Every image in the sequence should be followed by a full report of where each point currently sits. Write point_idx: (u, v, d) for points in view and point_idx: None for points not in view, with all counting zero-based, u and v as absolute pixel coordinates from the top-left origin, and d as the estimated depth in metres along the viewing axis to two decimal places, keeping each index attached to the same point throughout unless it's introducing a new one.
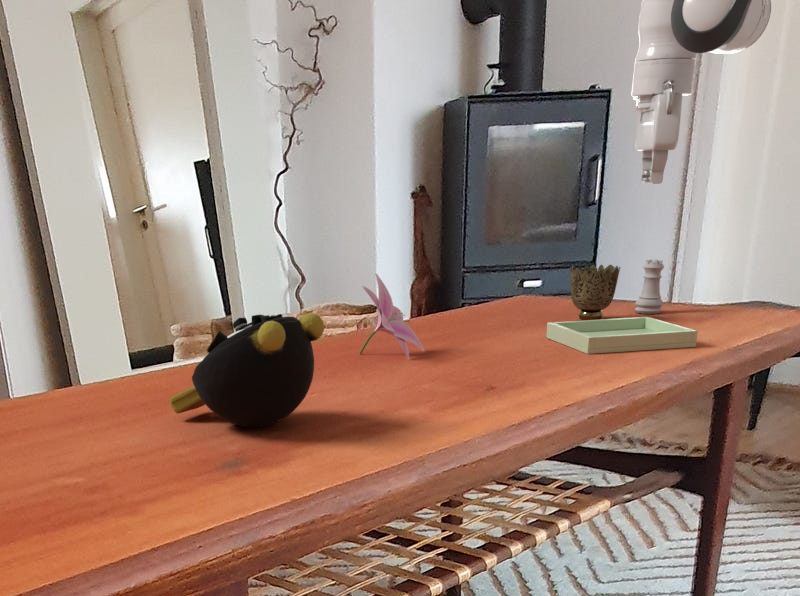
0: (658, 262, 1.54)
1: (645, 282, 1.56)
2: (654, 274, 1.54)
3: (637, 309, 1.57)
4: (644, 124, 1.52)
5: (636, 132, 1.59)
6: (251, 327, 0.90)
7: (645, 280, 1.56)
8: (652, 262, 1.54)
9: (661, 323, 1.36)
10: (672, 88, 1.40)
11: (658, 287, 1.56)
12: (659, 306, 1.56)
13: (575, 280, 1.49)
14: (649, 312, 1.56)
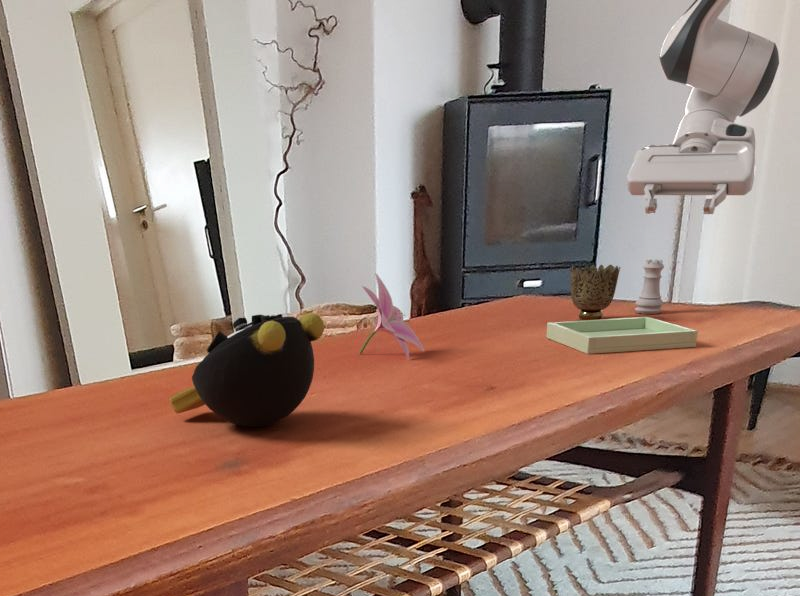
0: (658, 262, 1.54)
1: (645, 282, 1.56)
2: (654, 274, 1.54)
3: (637, 309, 1.57)
4: None
5: None
6: (251, 327, 0.90)
7: (645, 280, 1.56)
8: (652, 262, 1.54)
9: (661, 323, 1.36)
10: None
11: (658, 287, 1.56)
12: (659, 306, 1.56)
13: (575, 280, 1.49)
14: (649, 312, 1.56)
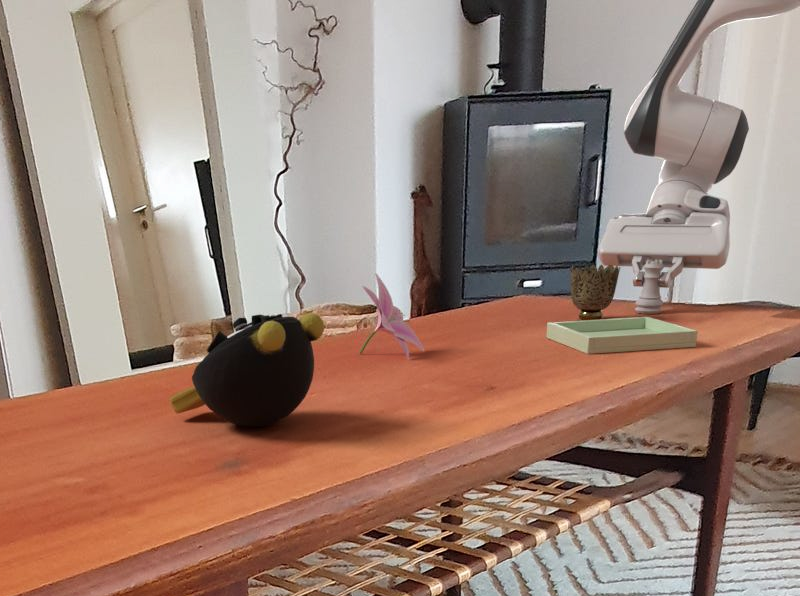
0: (658, 262, 1.54)
1: (645, 282, 1.56)
2: (654, 274, 1.54)
3: (637, 309, 1.57)
4: None
5: None
6: (251, 327, 0.90)
7: (645, 280, 1.56)
8: (652, 262, 1.54)
9: (661, 323, 1.36)
10: None
11: (658, 287, 1.56)
12: (659, 306, 1.56)
13: (575, 280, 1.49)
14: (649, 312, 1.56)
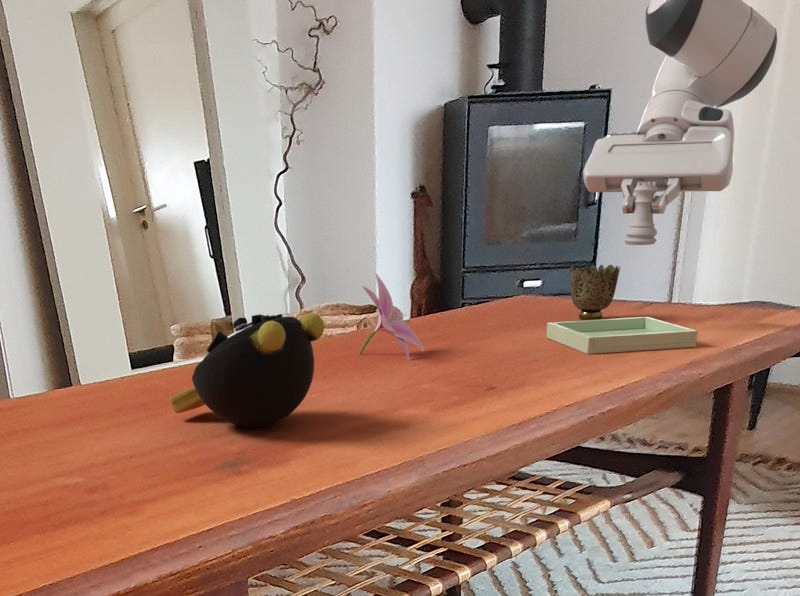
0: (651, 183, 1.33)
1: (636, 208, 1.36)
2: (646, 198, 1.34)
3: (627, 240, 1.37)
4: None
5: None
6: (251, 327, 0.90)
7: (636, 205, 1.35)
8: (644, 183, 1.33)
9: (661, 323, 1.36)
10: None
11: (651, 213, 1.35)
12: (652, 236, 1.36)
13: (575, 280, 1.49)
14: (641, 242, 1.36)
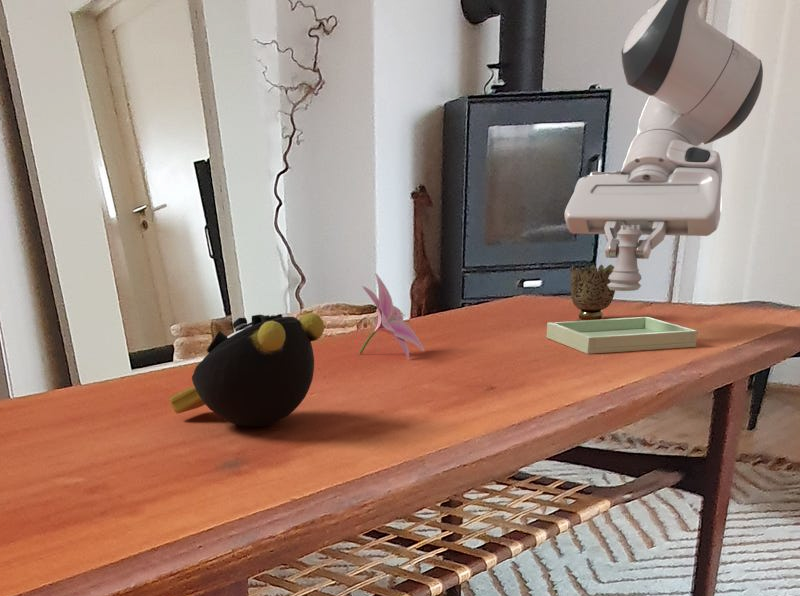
0: (635, 227, 1.27)
1: (620, 252, 1.29)
2: (630, 242, 1.28)
3: (610, 285, 1.31)
4: None
5: None
6: (251, 327, 0.90)
7: (620, 250, 1.29)
8: (628, 227, 1.27)
9: (661, 323, 1.36)
10: None
11: (635, 258, 1.29)
12: (637, 282, 1.30)
13: (575, 280, 1.49)
14: (624, 288, 1.30)
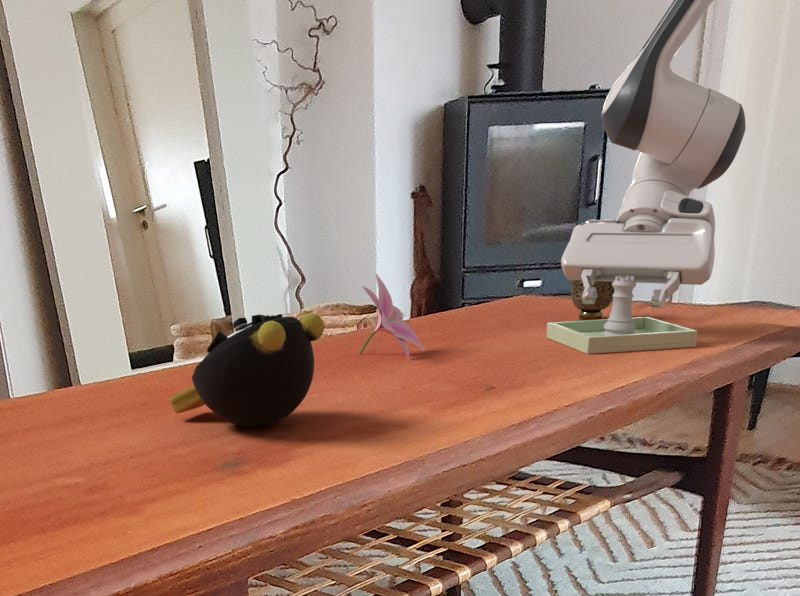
0: (629, 279, 1.30)
1: (614, 302, 1.32)
2: (624, 293, 1.31)
3: (605, 334, 1.34)
4: None
5: None
6: (251, 327, 0.90)
7: (614, 300, 1.32)
8: (622, 279, 1.30)
9: (661, 323, 1.36)
10: (576, 227, 1.39)
11: (629, 308, 1.32)
12: (631, 331, 1.33)
13: (575, 280, 1.49)
14: None
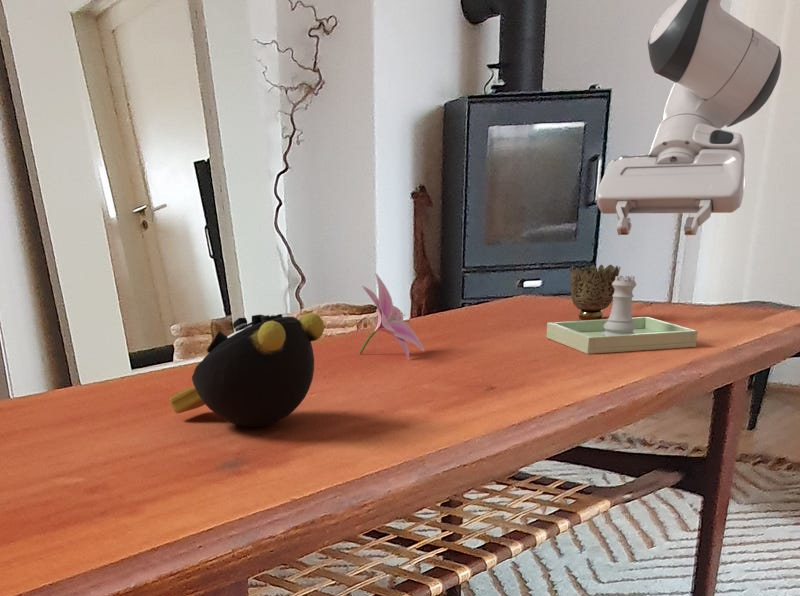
0: (629, 279, 1.30)
1: (614, 302, 1.32)
2: (624, 293, 1.31)
3: (605, 334, 1.34)
4: None
5: None
6: (251, 327, 0.90)
7: (614, 300, 1.32)
8: (622, 279, 1.30)
9: (661, 323, 1.36)
10: None
11: (629, 308, 1.32)
12: (631, 331, 1.33)
13: (575, 280, 1.49)
14: None
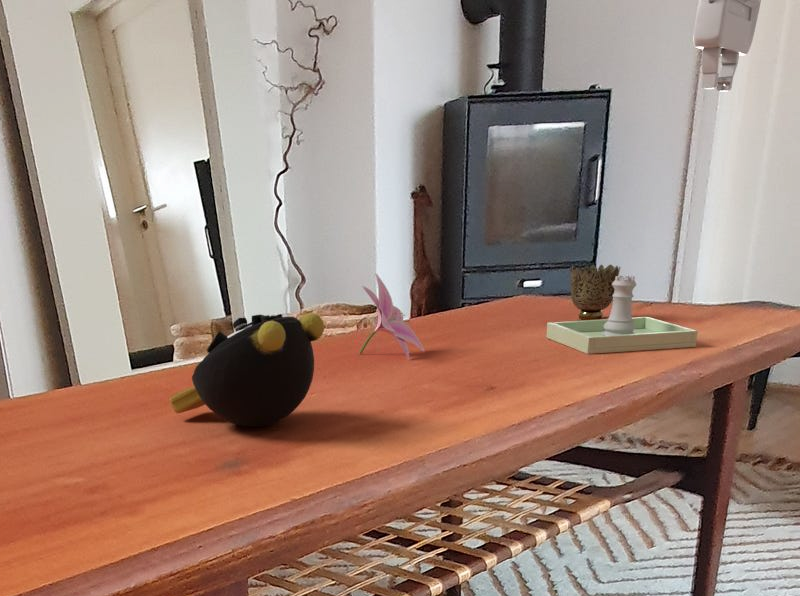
0: (629, 279, 1.30)
1: (614, 302, 1.32)
2: (624, 293, 1.31)
3: (605, 334, 1.34)
4: None
5: None
6: (251, 327, 0.90)
7: (614, 300, 1.32)
8: (622, 279, 1.30)
9: (661, 323, 1.36)
10: None
11: (629, 308, 1.32)
12: (631, 331, 1.33)
13: (575, 280, 1.49)
14: None
